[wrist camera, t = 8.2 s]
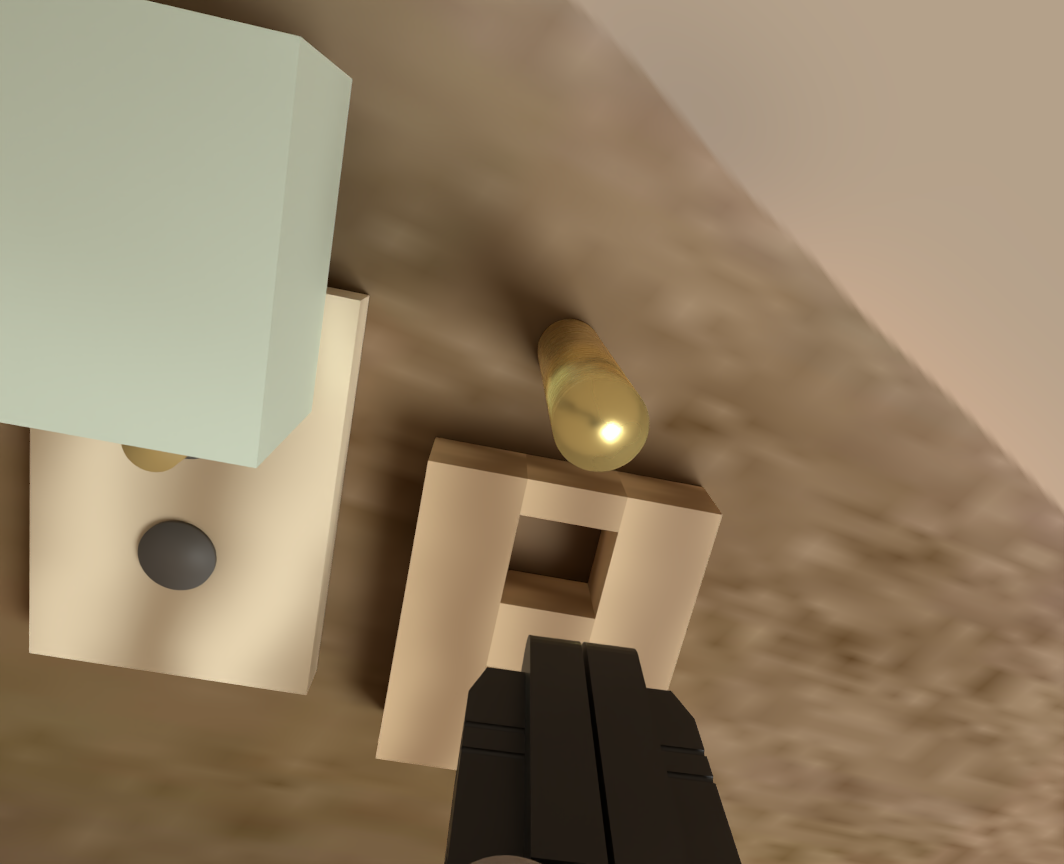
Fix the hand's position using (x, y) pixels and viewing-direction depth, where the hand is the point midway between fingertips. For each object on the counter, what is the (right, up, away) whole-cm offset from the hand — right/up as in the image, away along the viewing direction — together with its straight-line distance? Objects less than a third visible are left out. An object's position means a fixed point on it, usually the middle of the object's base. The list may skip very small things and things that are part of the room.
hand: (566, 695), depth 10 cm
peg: (+1, +6, +15) cm, 16 cm away
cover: (-11, +10, +11) cm, 18 cm away
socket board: (0, -3, +18) cm, 18 cm away
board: (-12, +2, +16) cm, 20 cm away
